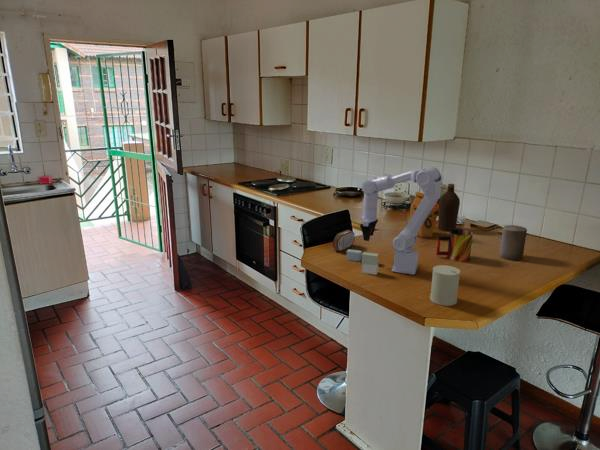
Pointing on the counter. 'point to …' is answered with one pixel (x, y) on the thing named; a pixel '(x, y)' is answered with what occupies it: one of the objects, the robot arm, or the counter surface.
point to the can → (445, 285)
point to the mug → (457, 245)
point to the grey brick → (370, 269)
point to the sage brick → (370, 258)
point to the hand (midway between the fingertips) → (368, 237)
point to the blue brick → (353, 255)
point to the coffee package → (428, 224)
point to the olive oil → (448, 209)
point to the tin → (343, 240)
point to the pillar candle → (513, 242)
